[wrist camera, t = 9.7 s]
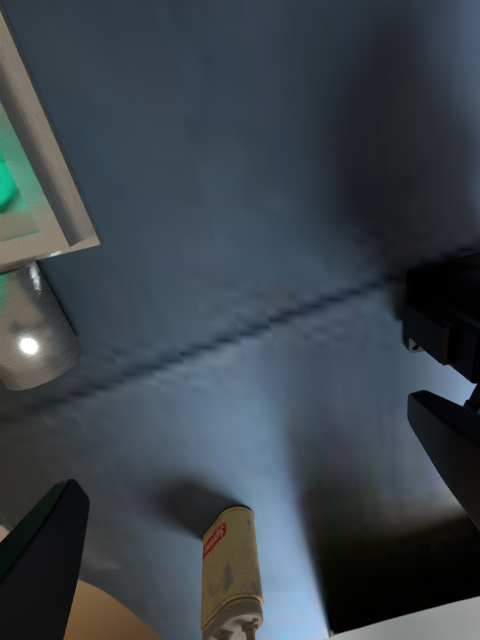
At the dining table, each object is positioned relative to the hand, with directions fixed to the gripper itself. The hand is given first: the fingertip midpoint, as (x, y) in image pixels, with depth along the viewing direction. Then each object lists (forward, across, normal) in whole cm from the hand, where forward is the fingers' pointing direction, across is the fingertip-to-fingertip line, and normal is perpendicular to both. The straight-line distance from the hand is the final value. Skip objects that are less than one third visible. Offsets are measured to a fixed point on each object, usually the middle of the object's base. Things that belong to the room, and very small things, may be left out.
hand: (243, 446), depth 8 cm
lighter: (+13, +6, +25) cm, 29 cm away
